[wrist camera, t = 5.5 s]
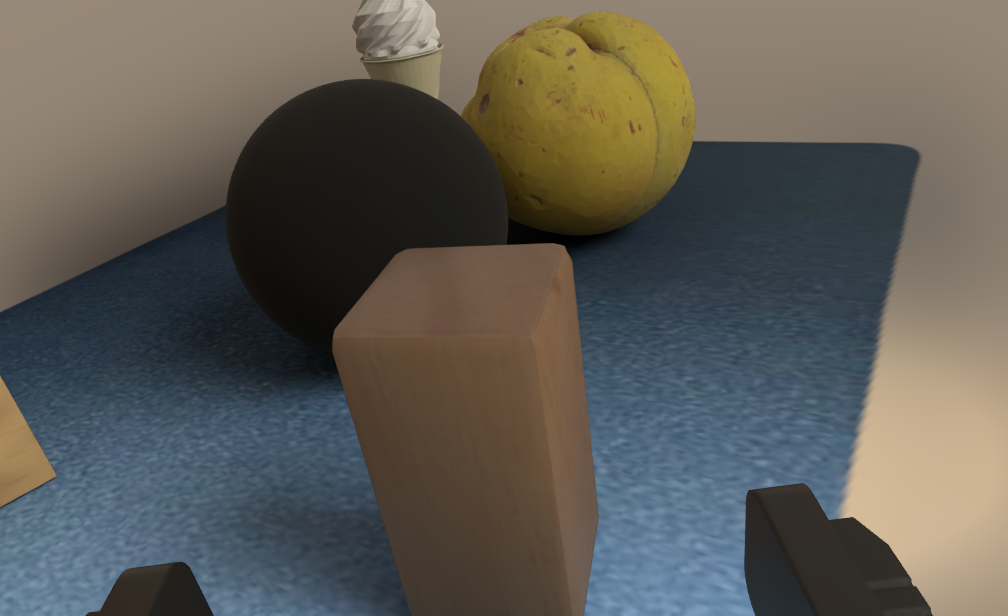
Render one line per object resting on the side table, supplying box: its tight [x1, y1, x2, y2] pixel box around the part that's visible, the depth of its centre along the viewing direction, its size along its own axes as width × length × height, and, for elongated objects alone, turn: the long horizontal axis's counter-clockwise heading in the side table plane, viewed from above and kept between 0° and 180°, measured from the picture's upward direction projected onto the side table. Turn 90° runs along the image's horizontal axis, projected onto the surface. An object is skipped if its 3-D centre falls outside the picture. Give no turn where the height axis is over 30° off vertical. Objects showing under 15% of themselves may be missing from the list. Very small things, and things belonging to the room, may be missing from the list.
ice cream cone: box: [352, 0, 444, 99], centre depth 43 cm, size 5×5×15 cm
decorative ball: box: [226, 79, 508, 354], centre depth 26 cm, size 10×10×10 cm
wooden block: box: [332, 243, 599, 616], centre depth 16 cm, size 4×4×8 cm
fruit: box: [461, 11, 696, 236], centre depth 34 cm, size 11×12×10 cm
